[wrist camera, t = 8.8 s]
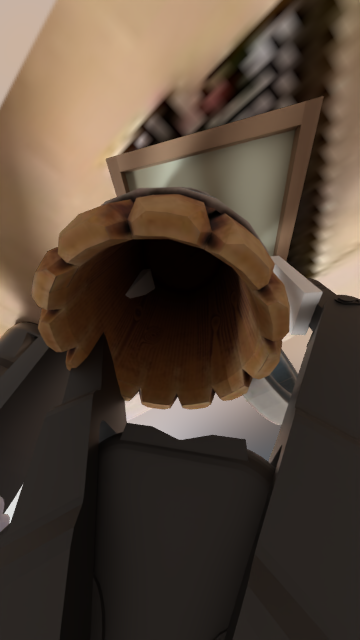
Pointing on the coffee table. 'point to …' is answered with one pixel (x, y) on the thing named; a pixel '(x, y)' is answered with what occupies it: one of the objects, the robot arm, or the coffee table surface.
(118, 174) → the framed mirror
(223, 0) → the coffee table surface
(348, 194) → the coffee table surface
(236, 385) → the mug
